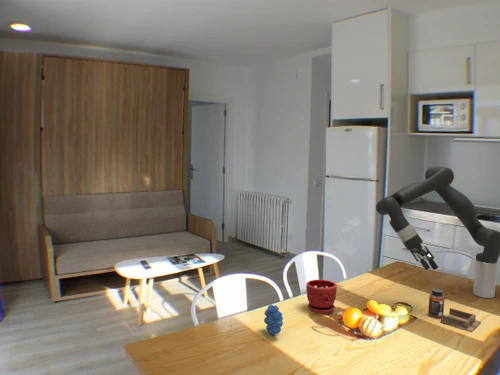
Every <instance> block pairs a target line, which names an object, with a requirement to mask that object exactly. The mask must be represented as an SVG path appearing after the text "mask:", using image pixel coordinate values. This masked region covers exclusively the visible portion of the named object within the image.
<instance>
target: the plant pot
mask: <svg viewBox="0 0 500 375" xmlns="http://www.w3.org/2000/svg"><path fill="white" fill-rule="evenodd" d="M305 284H306V285H305V288H306V297H307V301H308V304H307V307H308V310H310V311H311V312H314V313H317V314H330V313H332V312H333V311H334V310H335V307H336V306H335V305H334V304H335V301H336V298H337V290H338V286H337V283H336V282H334V281H332V280H326V279H312V280H308V281H307V282H306V283H305Z"/></svg>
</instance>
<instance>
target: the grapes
mask: <svg viewBox="0 0 500 375" xmlns="http://www.w3.org/2000/svg"><path fill="white" fill-rule="evenodd" d="M264 316H265V318H264V319H263V323H265V324H266V327H265V330H266V331H267V332H269V334H270V335H271V336H276V335H278V334H280V333H281V331H282V328H281V327H283V324H284V322H283V320H284V317H283V313H282V312H281V311H280V310H279V307H278V306H277V305H273V304H269V305H268V306H267V309H266V310H265V311H264Z"/></svg>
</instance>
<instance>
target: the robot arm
mask: <svg viewBox="0 0 500 375" xmlns="http://www.w3.org/2000/svg"><path fill="white" fill-rule="evenodd" d="M424 178H425V179H423V180H420V181H417V182H415V183H410V184H407V186H405V187H402V188H400V189H399V190H397V191H395V192H394V193H393V194H390V195H389V196H385V197H383V198H382V199H380V200H379V201H378V202H376V205H375V209H376V212H377V213H378V215H381V216H387V215H388V216H389V218H390V220H389V225H390V226H391V228H392V229H393V230H394V232H395V233H396V235H397V238H398V239H399V240H400V241H401V243H402V244H403V246H404V247H405V249H406V251H409V252H410V253H411V255H412V256H413V258H414V259H415V261H416V263H419V264H421V266H422V267H423V268H424V270H425V271H428V270H429V269H431V268H432V270H434V271H435V270H437V269H438V268H439V266H438V264H437V263H436V261H435V260H434V259H435V256H434V255H433V254H432V252H431V251H430V250H429V249H428V247H427V246H426V245H425V246H423V245H422V244H423V241H424V240H423V239H422V238H421V236H420V235H419V234H418V232H417V231H416V229H415V228H414V227H413V226H412V225H411V223H410V222H409V220H408V219H407V218H406V217H405V215H404V213H403V210H402V207H403V206H405V205H407V204H410V203H411V202H413V201H415V200H417V199H419V198H420V197H422V196H425V195H426V194H429V193H431V192H434V191H435V193H437V194H438V196H439V197H440V198H441V199H442V201H444V203H445V204H446V205H447V207H449V210H451V211H452V213H453V214H454V215H455V217H457V218H458V219H459V222H461V224H462V225H463V226H464V227H465V229H466V230H467V232H468V233H469V234H470V236H471V238H472V240H473V241H474V242H475V244H477V245H478V246H481V247H483V251H482V252H479V253H476V254H475V263H474V264H475V265H474V275H473V276H474V277H473V290H472V293H473V295H475V296H477V297H479V298H485V299H493V298H495V293H496V283H497V282H496V280H497V270H498V269H497V268H498V260H499V258H500V232H499V231H498V230H495V229H492V228H487V227H485V226H484V224H482V223H481V221H479V219H478V213H477V212H478V211H477V208H476V206H475V205H474V204H473V203H472V201H471V200H470V199H469V197H467V196H466V195H465V194H464V193H462V192H461V191H459V190H457V189H456V188H455V187H453V186H452V183H453V181H454V178H455V173H454V171H453V170H452V169H451V168H450V167H447V166H433V167H428V169H427V170H426V171H425V174H424Z"/></svg>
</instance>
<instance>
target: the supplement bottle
mask: <svg viewBox="0 0 500 375" xmlns="http://www.w3.org/2000/svg"><path fill="white" fill-rule="evenodd" d="M428 298H429V299H428V311H427V312H428V313H427V314H428V316H430V317H431V318H435V319H441V315H444V312H445V310H444V309H445V296H444V295H443V290H442V289H439V288H438V289H437V288H433V289H432V292H431V293H430V294H429V297H428Z"/></svg>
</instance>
